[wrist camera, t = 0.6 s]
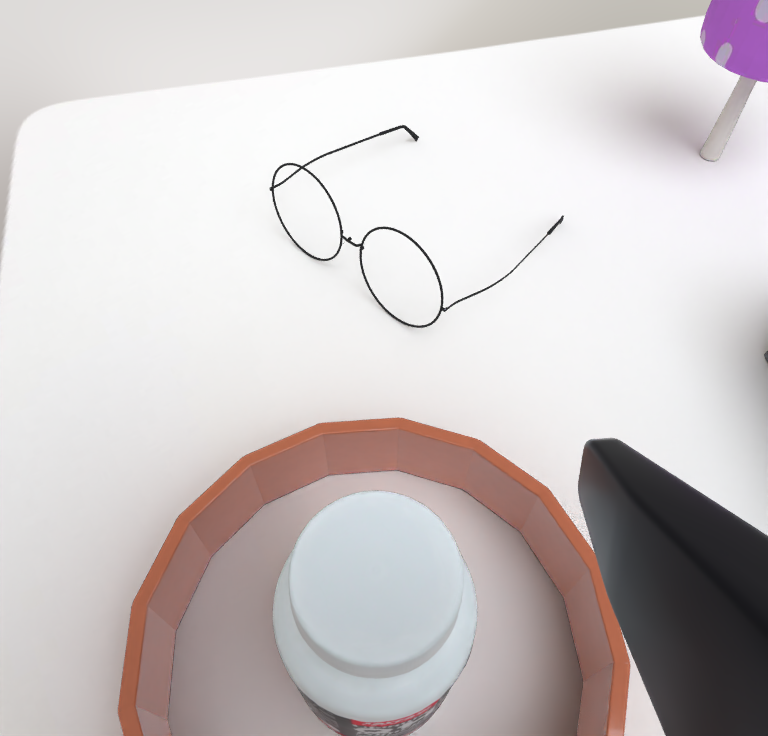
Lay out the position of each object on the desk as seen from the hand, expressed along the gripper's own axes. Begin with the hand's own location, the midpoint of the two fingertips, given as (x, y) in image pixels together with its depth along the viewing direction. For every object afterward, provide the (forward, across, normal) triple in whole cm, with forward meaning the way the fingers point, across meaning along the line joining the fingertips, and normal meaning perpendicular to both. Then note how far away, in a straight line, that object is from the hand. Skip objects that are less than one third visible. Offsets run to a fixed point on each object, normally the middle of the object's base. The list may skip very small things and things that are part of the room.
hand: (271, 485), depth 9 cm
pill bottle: (+7, -1, +14) cm, 16 cm away
